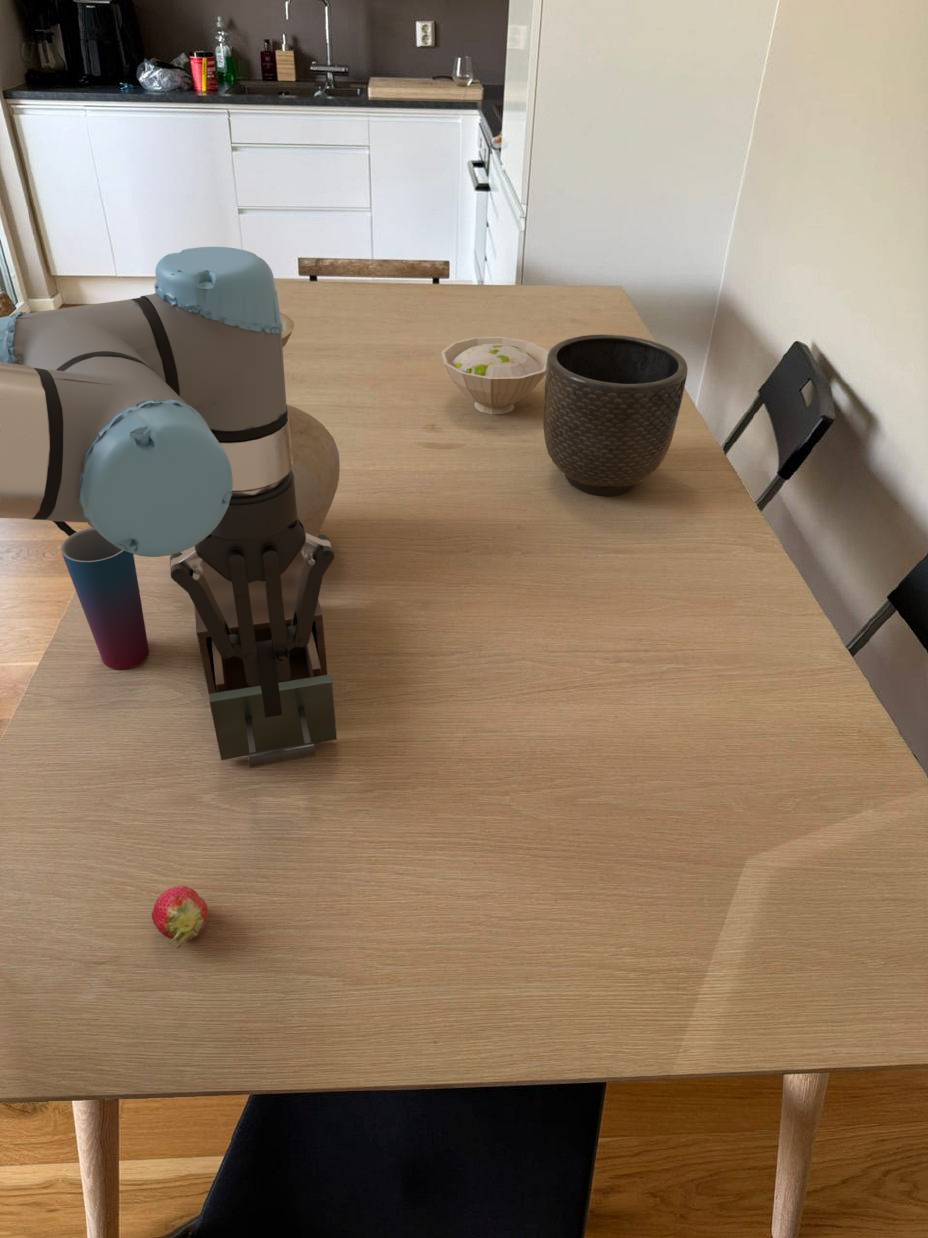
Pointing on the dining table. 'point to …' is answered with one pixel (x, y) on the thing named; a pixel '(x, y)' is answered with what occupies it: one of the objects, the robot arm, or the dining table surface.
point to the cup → (108, 597)
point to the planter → (611, 409)
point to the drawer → (275, 736)
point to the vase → (311, 460)
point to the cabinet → (254, 612)
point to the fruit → (180, 914)
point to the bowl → (495, 370)
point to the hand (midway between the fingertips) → (272, 706)
